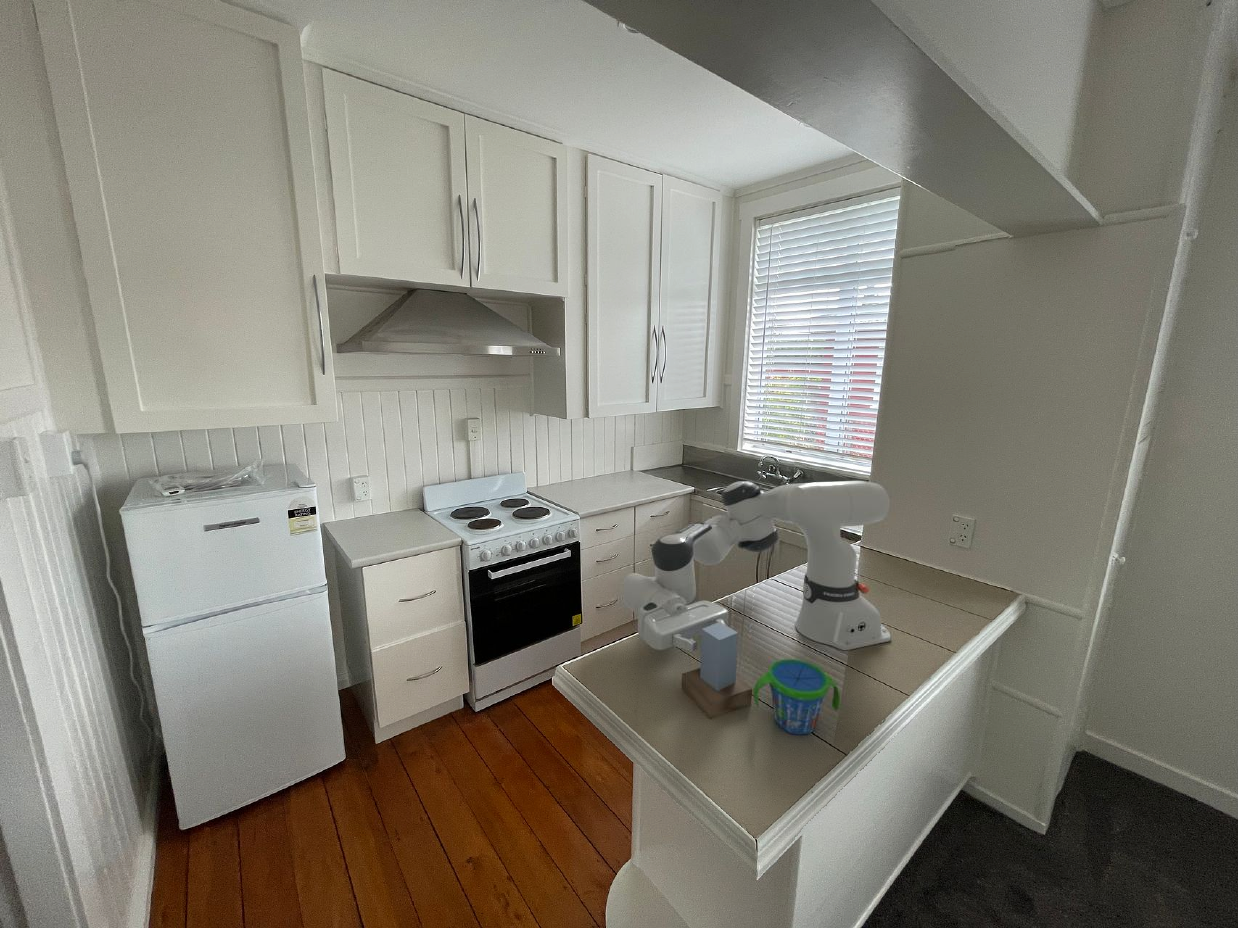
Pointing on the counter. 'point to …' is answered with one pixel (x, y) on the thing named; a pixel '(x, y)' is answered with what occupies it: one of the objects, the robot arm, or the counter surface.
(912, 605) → the counter surface
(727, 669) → the pillar
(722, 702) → the walnut base
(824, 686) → the snack cup
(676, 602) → the robot arm
